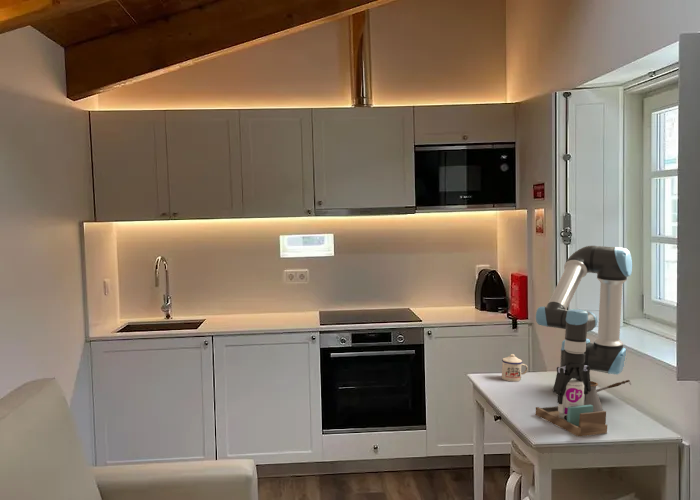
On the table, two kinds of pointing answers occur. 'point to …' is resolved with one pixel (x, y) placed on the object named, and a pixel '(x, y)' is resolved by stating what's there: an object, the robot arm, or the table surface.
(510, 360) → the teacup with lid
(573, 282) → the robot arm
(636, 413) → the table surface
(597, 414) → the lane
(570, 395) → the supplement can
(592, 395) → the coffee pot
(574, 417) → the plate
